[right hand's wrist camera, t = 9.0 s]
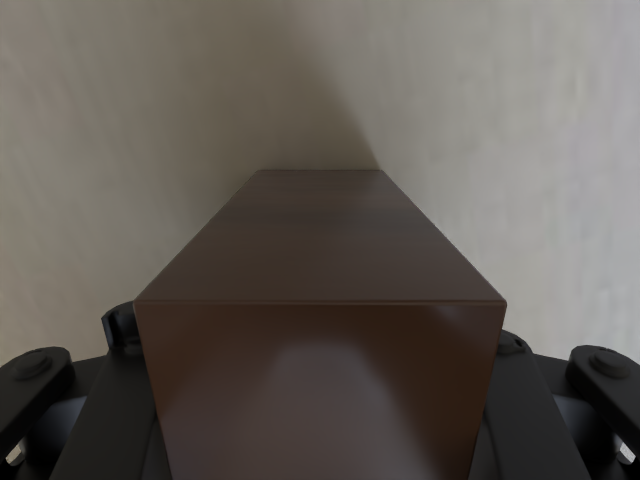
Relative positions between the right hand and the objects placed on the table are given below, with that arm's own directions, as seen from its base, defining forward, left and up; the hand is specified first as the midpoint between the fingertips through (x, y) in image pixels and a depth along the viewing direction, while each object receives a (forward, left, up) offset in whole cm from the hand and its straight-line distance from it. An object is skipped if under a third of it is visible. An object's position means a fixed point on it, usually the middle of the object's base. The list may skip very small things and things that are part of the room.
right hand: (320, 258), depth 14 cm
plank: (+10, 0, -1) cm, 10 cm away
